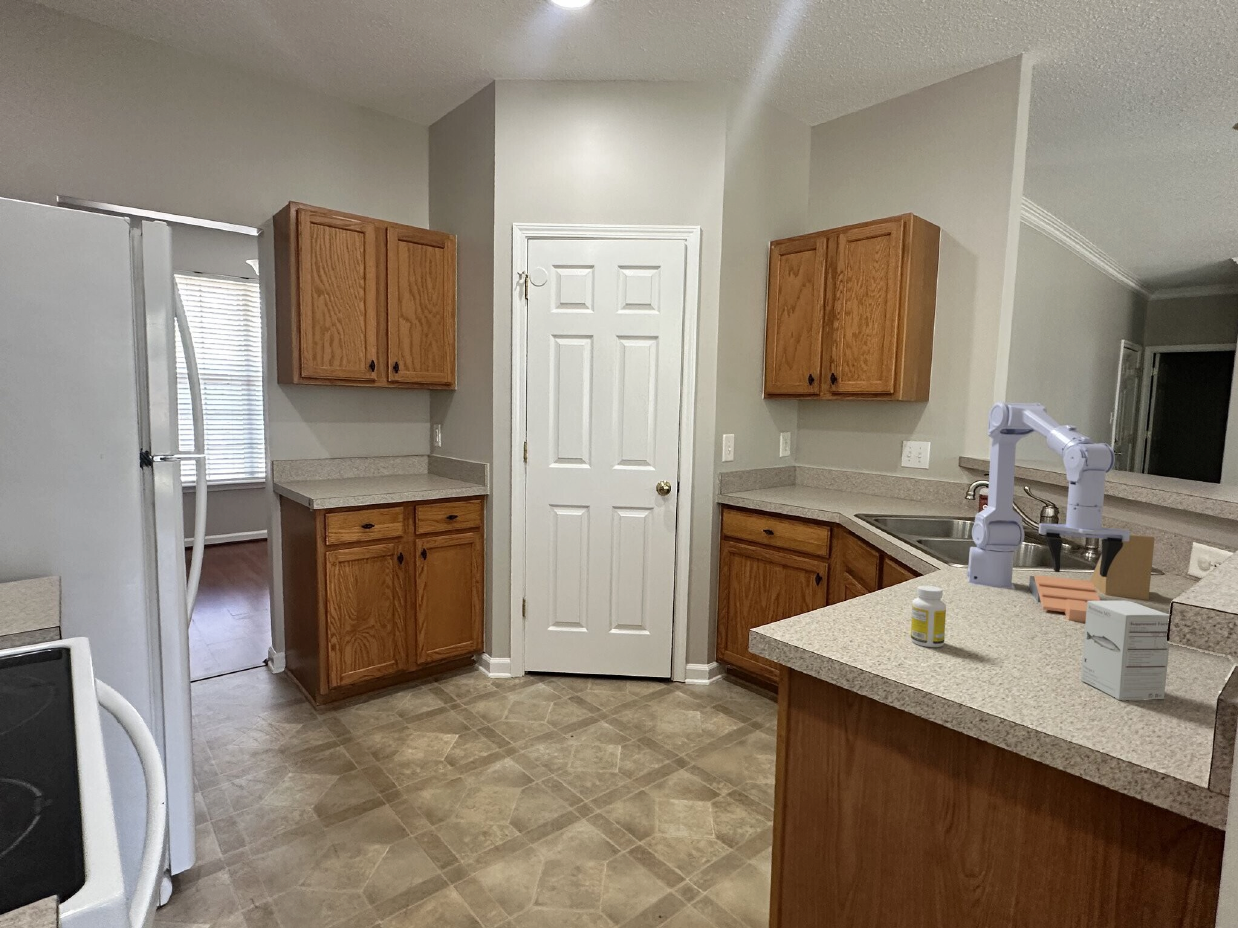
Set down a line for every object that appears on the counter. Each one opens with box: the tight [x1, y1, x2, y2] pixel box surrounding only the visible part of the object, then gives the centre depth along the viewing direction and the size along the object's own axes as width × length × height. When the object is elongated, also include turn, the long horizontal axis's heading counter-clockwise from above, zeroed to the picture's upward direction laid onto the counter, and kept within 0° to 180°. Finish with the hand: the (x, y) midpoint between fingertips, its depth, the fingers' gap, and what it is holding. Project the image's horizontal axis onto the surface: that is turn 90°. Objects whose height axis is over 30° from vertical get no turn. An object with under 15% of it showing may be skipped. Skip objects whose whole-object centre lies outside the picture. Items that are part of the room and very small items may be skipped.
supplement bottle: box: [910, 585, 947, 648], centre depth 117 cm, size 5×5×10 cm
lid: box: [1034, 574, 1101, 623], centre depth 137 cm, size 11×18×3 cm, turn 155°
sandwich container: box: [1089, 534, 1156, 600], centre depth 156 cm, size 9×15×15 cm, turn 157°
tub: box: [1028, 575, 1041, 603], centre depth 147 cm, size 10×13×4 cm
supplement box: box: [1080, 600, 1170, 701], centre depth 98 cm, size 7×7×13 cm
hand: (1079, 573), depth 131 cm, fingers open, 7 cm apart
